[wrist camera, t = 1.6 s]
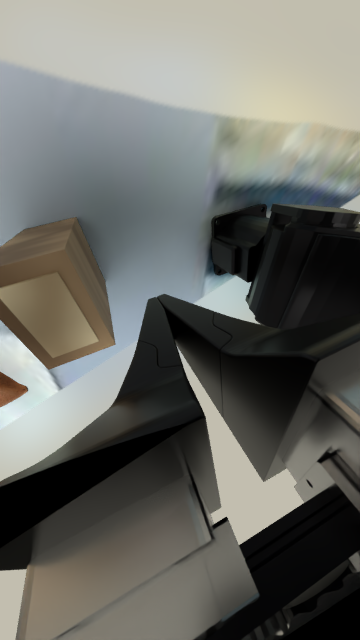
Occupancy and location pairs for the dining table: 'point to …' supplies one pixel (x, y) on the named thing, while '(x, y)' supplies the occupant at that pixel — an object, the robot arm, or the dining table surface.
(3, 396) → the sunglasses case
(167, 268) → the dining table surface
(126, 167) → the dining table surface
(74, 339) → the walnut block
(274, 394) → the robot arm
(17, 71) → the dining table surface
